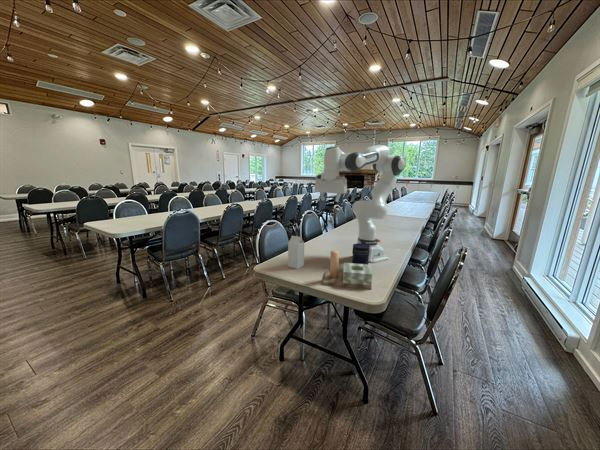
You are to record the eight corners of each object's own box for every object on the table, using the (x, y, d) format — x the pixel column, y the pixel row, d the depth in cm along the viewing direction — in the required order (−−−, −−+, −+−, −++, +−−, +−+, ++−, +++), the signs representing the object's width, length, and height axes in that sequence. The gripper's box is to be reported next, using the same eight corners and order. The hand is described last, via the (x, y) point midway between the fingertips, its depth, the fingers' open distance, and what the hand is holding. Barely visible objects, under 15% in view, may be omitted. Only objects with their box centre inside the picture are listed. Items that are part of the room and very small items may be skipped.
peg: (335, 274, 137) (336, 250, 134) (339, 277, 133) (340, 252, 130) (328, 275, 135) (329, 251, 132) (332, 278, 131) (333, 253, 128)
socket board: (368, 276, 139) (369, 264, 137) (371, 289, 123) (372, 275, 122) (325, 273, 143) (326, 260, 142) (323, 284, 128) (323, 270, 126)
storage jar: (348, 267, 152) (349, 243, 149) (362, 266, 155) (364, 242, 152) (356, 273, 143) (358, 248, 140) (371, 272, 146) (373, 247, 143)
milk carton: (297, 269, 148) (298, 238, 144) (288, 266, 152) (288, 236, 148) (303, 265, 154) (304, 236, 150) (294, 263, 158) (294, 234, 154)
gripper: (350, 176, 136) (348, 202, 138) (320, 176, 149) (319, 199, 152) (343, 176, 131) (342, 202, 134) (313, 175, 144) (312, 199, 147)
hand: (329, 200), depth 143 cm, fingers open, 8 cm apart
